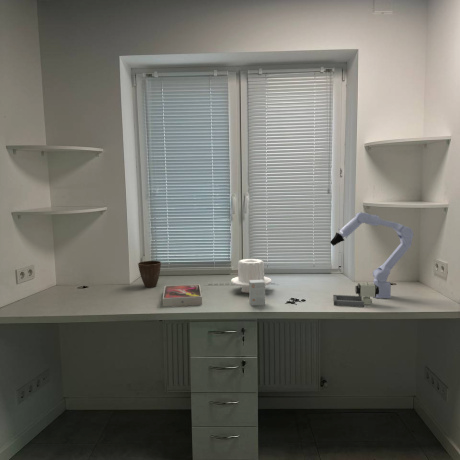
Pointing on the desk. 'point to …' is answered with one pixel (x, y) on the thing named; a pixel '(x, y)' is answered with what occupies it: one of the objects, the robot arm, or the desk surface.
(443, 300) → the desk surface
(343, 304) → the housing bracket
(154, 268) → the plant pot
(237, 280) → the ribbed cylinder on disc
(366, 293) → the pneumatic valve
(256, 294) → the small box
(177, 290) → the product packaging
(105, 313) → the desk surface
